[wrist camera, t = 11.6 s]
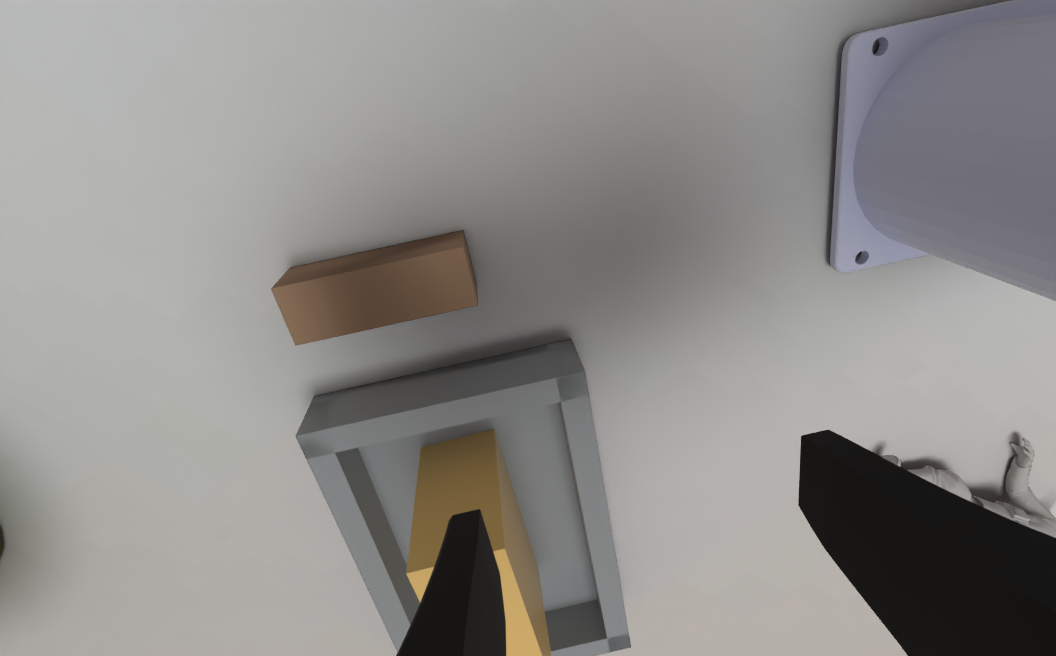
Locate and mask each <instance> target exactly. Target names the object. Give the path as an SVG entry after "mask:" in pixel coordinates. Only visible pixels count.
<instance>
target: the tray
mask: <svg viewBox="0 0 1056 656" xmlns="http://www.w3.org/2000/svg"><path fill="white" fill-rule="evenodd" d="M492 429H494V430H495V433H496V436H497V439H498V443H499V446H500V449H501V452H502V455H503V458H504V461H505V465H506V468H507V471H508V474H509V477H510V480H511V484H512V487H513V490H514V493H515V496H516V499H517V502H518V506H519V509H520V512H521V515H522V518H523V521H524V525H525V528H526V531H527V534H528V537H529V540H530V543H531V547H532V550H533V553H534V556H535V559H536V562H537V566H538V571H539V577H540V584H541V591H542V597H543V604H544V610H545V617H546V623H547V630H548V636H549V643H550V649H551V656H596V655H600V654H604V653H609V652H613V651H617V650H621V649H626V648H630V647H631V644H630V638H629V632H628V626H627V620H626V614H625V608H624V602H623V596H622V590H621V584H620V578H619V572H618V566H617V560H616V554H615V548H614V542H613V536H612V530H611V524H610V518H609V512H608V507H607V501H606V495H605V489H604V483H603V477H602V471H601V465H600V459H599V453H598V447H597V441H596V435H595V429H594V423H593V417H592V411H591V405H590V399H589V393H588V387H587V381H586V375H585V371H584V368H583V366H582V363H581V361H580V359H579V356H578V354H577V351H576V349H575V346H574V344H573V342H572V339H570V340H566V341H561V342H557V343H552V344H548V345H543V346H539V347H534V348H530V349H525V350H521V351H516V352H512V353H507V354H503V355H498V356H494V357H489V358H485V359H480V360H476V361H471V362H467V363H462V364H458V365H453V366H449V367H444V368H440V369H435V370H431V371H426V372H422V373H417V374H413V375H408V376H404V377H399V378H395V379H390V380H386V381H381V382H377V383H372V384H368V385H363V386H359V387H354V388H350V389H345V390H341V391H336V392H332V393H327V394H323V395H318V396H314V398H313V400H312V402H311V404H310V406H309V408H308V410H307V413H306V415H305V417H304V419H303V421H302V423H301V425H300V428H299V430H298V432H297V434H296V438H297V440H298V442H299V444H300V447H301V449H302V451H303V453H304V455H305V457H306V459H307V461H308V464H309V466H310V468H311V470H312V472H313V474H314V476H315V478H316V481H317V483H318V485H319V487H320V489H321V491H322V493H323V495H324V498H325V500H326V502H327V504H328V506H329V508H330V510H331V512H332V515H333V517H334V519H335V521H336V523H337V525H338V527H339V529H340V532H341V534H342V536H343V538H344V540H345V542H346V544H347V546H348V548H349V551H350V553H351V555H352V557H353V559H354V561H355V563H356V565H357V568H358V570H359V572H360V574H361V576H362V578H363V580H364V582H365V585H366V587H367V589H368V591H369V593H370V595H371V597H372V599H373V602H374V604H375V606H376V608H377V610H378V612H379V614H380V616H381V619H382V621H383V623H384V625H385V627H386V629H387V631H388V633H389V636H390V638H391V640H392V642H393V644H394V646H395V648H396V650H397V653H398V651H399V649H400V647H401V645H402V642H403V640H404V638H405V636H406V634H407V631H408V629H409V627H410V625H411V623H412V620H413V618H414V616H415V614H416V612H417V609H418V607H419V604H420V602H419V599H418V597H417V595H416V593H415V591H414V589H413V587H412V585H411V583H410V581H409V578H408V576H407V574H406V572H407V563H408V554H409V546H410V537H411V528H412V519H413V511H414V502H415V493H416V485H417V476H418V467H419V458H420V450H421V448H422V447H426V446H430V445H433V444H437V443H441V442H445V441H449V440H453V439H457V438H461V437H464V436H468V435H472V434H476V433H480V432H484V431H488V430H492Z"/></svg>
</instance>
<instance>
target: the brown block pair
mask: <svg viewBox="0 0 1056 656" xmlns="http://www.w3.org/2000/svg"><path fill="white" fill-rule="evenodd" d="M271 290H272V292H273V295H274V297H275V299H276V302H277V304H278V306H279V308H280V311H281V313H282V315H283V318H284V320H285V322H286V325H287V327H288V329H289V332H290V334H291V336H292V339H293V341H294V343H295V346H296V345H301V344H305V343H310V342H314V341H319V340H323V339H328V338H332V337H337V336H342V335H346V334H351V333H355V332H360V331H364V330H369V329H373V328H378V327H382V326H387V325H391V324H396V323H400V322H405V321H410V320H414V319H419V318H423V317H428V316H432V315H437V314H441V313H446V312H450V311H455V310H459V309H464V308H469V307H473V306H478V296H477V283H476V279H475V275H474V271H473V267H472V263H471V259H470V255H469V251H468V247H467V243H466V239H465V235H464V231H463V230H462V231H457V232H453V233H448V234H444V235H439V236H434V237H430V238H425V239H421V240H416V241H411V242H407V243H402V244H398V245H393V246H388V247H384V248H379V249H375V250H370V251H366V252H361V253H356V254H352V255H347V256H343V257H338V258H333V259H329V260H324V261H320V262H315V263H310V264H306V265H301V266H297V267H292V268H290V269H289V270H288V271H287V272H286V273H285V274H284V275H283V276H282V277H281V278H280V279H279V281H278V282H277V283H276V284H275V285H274V286H273V287H272V288H271Z"/></svg>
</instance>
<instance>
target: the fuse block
mask: <svg viewBox="0 0 1056 656" xmlns="http://www.w3.org/2000/svg"><path fill="white" fill-rule="evenodd" d="M477 509H480V510H481V513H482V517H483V520H484V523H485V526H486V530H487V533H488V536H489V539H490V543H491V546H492V549H493V552H494V556H495V559H496V562H497V565H498V569H499V572H500V577H501V586H502V594H503V602H504V611H505V620H506V656H551V649H550V643H549V636H548V630H547V623H546V617H545V610H544V604H543V597H542V591H541V584H540V577H539V571H538V566H537V562H536V559H535V556H534V553H533V550H532V547H531V543H530V540H529V537H528V534H527V531H526V528H525V525H524V521H523V518H522V515H521V512H520V509H519V506H518V502H517V499H516V496H515V493H514V490H513V487H512V484H511V480H510V477H509V474H508V471H507V468H506V465H505V461H504V458H503V455H502V452H501V449H500V446H499V443H498V439H497V436H496V433H495V430H494V429H492V430H488V431H484V432H480V433H476V434H472V435H468V436H464V437H461V438H457V439H453V440H449V441H445V442H441V443H437V444H433V445H430V446H426V447H422V448H421V450H420V458H419V467H418V476H417V485H416V493H415V502H414V511H413V519H412V528H411V537H410V546H409V554H408V563H407V572H406V574H407V576H408V578H409V581H410V583H411V585H412V587H413V589H414V591H415V593H416V595H417V597H418V599H419V602H421V599H422V597H423V594H424V592H425V589H426V587H427V584H428V582H429V579H430V577H431V574H432V571H433V569H434V566H435V563H436V560H437V557H438V554H439V551H440V549H441V545H442V542H443V539H444V536H445V533H446V529H447V525H448V522H449V519H450V518H451V517H452V515H455V514H460V513H464V512H468V511H473V510H477Z"/></svg>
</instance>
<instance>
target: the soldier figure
mask: <svg viewBox="0 0 1056 656" xmlns="http://www.w3.org/2000/svg"><path fill="white" fill-rule="evenodd" d="M1022 439H1023V441H1024V443H1025V444H1024V446H1018V445H1015V444H1014V443H1011V444H1010V445H1011V446H1012V447H1013V448H1014V449H1015V451H1016V453H1017V455H1018V456H1015V457H1014V459H1013V461H1012V462H1011V466H1010V469H1009V470H1008V472H1007V475H1006V482H1005V486H1006V492H1007V494H1008V495H1009V497H1010V499H1011V501H1012V503H1013V505H1014V506H1012V505H1010V504H1008V503H1005V502H1000V501H995V502H994V503H993V502H990V501H987V500H983V499H981V498H979V497H976V496H973V495H971V492H970V490H969V489H968V487H967V486H966V484H965V483H964V482H963V480H962V479H961V478H960V477H959V476H958V475H956V474H954V473H952V472H950V471H948V470H944V469H935V468H934V467H932V466H929V465H926V466H924V467H923V468H922V469H915V470H907V471H909V472H911V473H913V474H915V475H917V476H919V477H921V478H923V479H925V480H927V481H929V482H931V483H933V484H935V485H937V486H939V487H941V488H943V489H945V490H947V491H949V492H951V493H953V494H956V495H958V496H960V497H962V498H964V499H966V500H968V501H970V502H973V503H975V504H977V505H979V506H981V507H984V508H986V509H988V510H990V511H992V512H995V513H997V514H999V515H1001V516H1004V517H1006V518H1008V519H1010V520H1013V521H1015V522H1018V523H1020V524H1022V525H1025V526H1027V527H1030V528H1032V529H1035V530H1037V531H1040V532H1042V533H1045V534H1047V535H1050V536H1052V537H1055V538H1056V518H1055V517H1054V516H1053V515H1052V514H1051V512H1050V511H1049V510H1048V509H1047V508H1046V507H1045V506H1044V505H1043V504H1042V503H1041V502H1040V501H1039V500H1038V499H1037V498H1036V497H1035V496H1034V494H1033V493H1032V491H1031V489H1030V488H1029V487H1028V476H1029V474H1030V471H1031V469H1030V468H1031V467H1032V466H1031V465H1032V462H1033V459H1034V450H1033V448H1032V446H1031V444H1030V443H1029V441H1028V440H1027V439H1025V438H1022ZM881 457H882V458H884V459H886V460H888V461H890V462H892V463H894V464H896V465H898V466H899V467H900V466H901V461H900V460H899V459H898V458H897V457H896V456H893V455H884V456H881Z"/></svg>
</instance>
